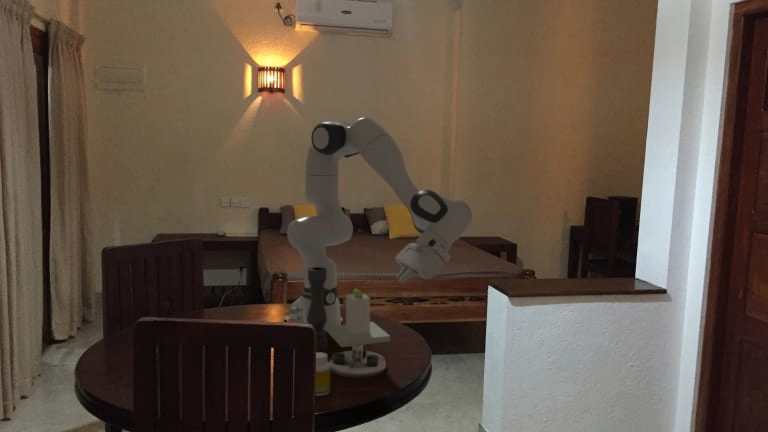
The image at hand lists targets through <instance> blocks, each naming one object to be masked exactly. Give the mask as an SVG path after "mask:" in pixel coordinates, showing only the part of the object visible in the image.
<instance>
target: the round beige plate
mask: <svg viewBox="0 0 768 432" xmlns="http://www.w3.org/2000/svg"><path fill="white" fill-rule="evenodd" d="M367 345H368V344H363V345H355V346H351V348H352V350H345V351H342V352H341V351H337V352H334V353H333V354H332V355H331V356H330V357H329V360H328V363H329V364H330V373H332V374H333V375H336V376H340V377H342V378H343V377H344V378H349V379H364V378H365V379H366V378H371V377H375V376H378V375H380V374H382V373H384V371H385V370H386V365H387V364H386V361H387V359H385V357H384V356H383V355H382V354H380V353H377V352H374V351H369V350H367V348H368V346H367Z"/></svg>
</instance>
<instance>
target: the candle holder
mask: <svg viewBox="0 0 768 432" xmlns="http://www.w3.org/2000/svg"><path fill="white" fill-rule="evenodd" d="M326 279H327V269H326V268H323V267H313V268H308V280H309V283H310V285H311V287H310V288H309V291H310V293H311V304H310V308H309V312H308V316H307V322H308V324H312V325H313V326H314V328H315V332H316V352H315V353H318V352H324V351H326V350H327V349H328V337H327V331H325V330H324V329H323V328H324V325H325V323H326V321H327V315H326V311H325V307H324V302H323V293H324V291H325V290H326V288H325V287H324V286H323V285H324V283H325V282H326Z"/></svg>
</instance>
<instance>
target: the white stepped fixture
mask: <svg viewBox="0 0 768 432" xmlns="http://www.w3.org/2000/svg"><path fill="white" fill-rule="evenodd" d="M345 298H346V299H345V324H341V325H336V326H327V331H326V333H328V334H329V336H330V337H331V338H332V339H333V340H334V341H335V342H336V343H337V344H338V345H339V347H340V348H344V347H345V348H346V347H352V346H355V345H363V344H366V345H370V344H377V343H378V344H379V343H386V342H391V335H389V334H388V333H387V332H386V331H385V330H383V329H382V328H381V327H380V326H379V325H377V324H376V323H375V322H373V321H371V317H370V316H371V298H370V297H369V296H368V295H366V294H365V293H364V292H363V291H361V290H360V289H359V288H354V289H353V290H352V293H351V294H345Z"/></svg>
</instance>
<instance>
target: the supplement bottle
mask: <svg viewBox="0 0 768 432" xmlns="http://www.w3.org/2000/svg"><path fill="white" fill-rule="evenodd" d="M315 353H316V374H315V376H316V396H315V397H321V396H322V397H323V396H327V395H328V394H329V393H330V391H331V371H330V364H329V361H328V353H325V352H323V351H318V352H315Z"/></svg>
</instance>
